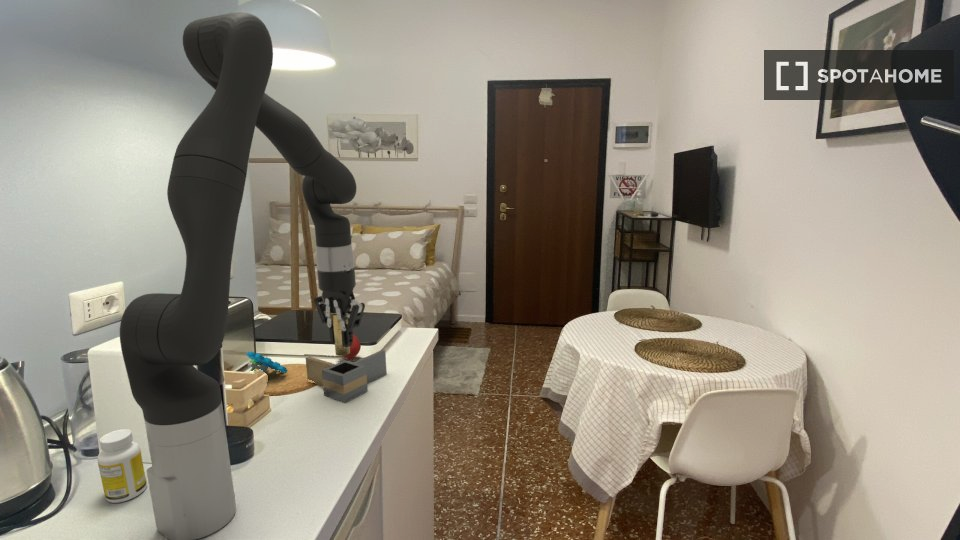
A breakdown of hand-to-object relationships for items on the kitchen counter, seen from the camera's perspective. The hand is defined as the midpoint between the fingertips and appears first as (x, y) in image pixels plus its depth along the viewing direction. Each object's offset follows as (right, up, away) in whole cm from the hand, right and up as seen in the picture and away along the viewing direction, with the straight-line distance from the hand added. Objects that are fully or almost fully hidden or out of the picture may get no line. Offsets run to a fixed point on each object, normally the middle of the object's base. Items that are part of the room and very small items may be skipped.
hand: (342, 344), depth 109 cm
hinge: (-1, -10, +8) cm, 13 cm away
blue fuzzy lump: (-21, -10, +12) cm, 26 cm away
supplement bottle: (-25, -19, -30) cm, 44 cm away
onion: (-4, -7, +21) cm, 23 cm away
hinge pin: (0, -2, 0) cm, 2 cm away
